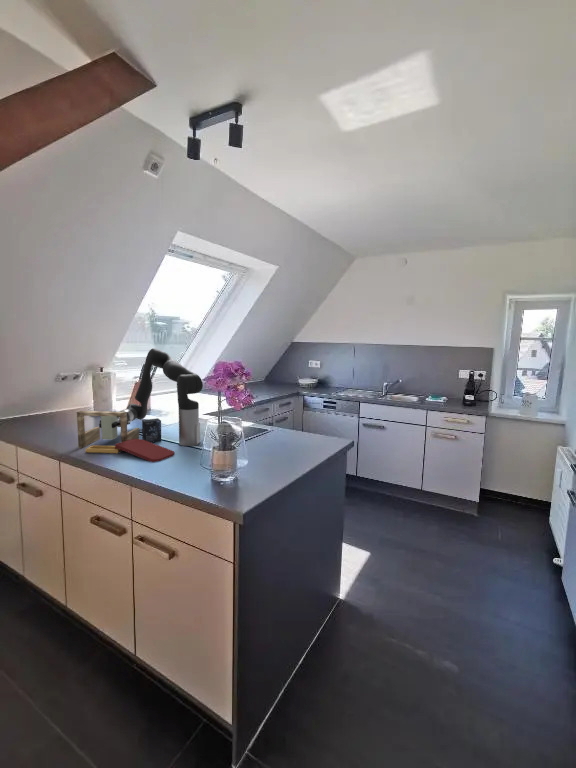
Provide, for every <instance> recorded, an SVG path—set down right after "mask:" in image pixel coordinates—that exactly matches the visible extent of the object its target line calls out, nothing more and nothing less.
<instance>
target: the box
mask: <svg viewBox="0 0 576 768" xmlns="http://www.w3.org/2000/svg"><path fill="white" fill-rule="evenodd" d="M141 432H142V433H141V434H142V435H141V436H142V438H141V439H143V440H145V441H148V442H151V443H156V442H157V443H158V442H162V420H161V419H160V418H150V419H142V420H141Z"/></svg>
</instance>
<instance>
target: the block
mask: <svg viewBox="0 0 576 768" xmlns="http://www.w3.org/2000/svg"><path fill="white" fill-rule="evenodd" d="M100 420H101V428H100V435H101V440H108V441H109V440H115V439H116V438H118V427H115V428H112V423H114V422H116V421H117V416H100Z"/></svg>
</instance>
